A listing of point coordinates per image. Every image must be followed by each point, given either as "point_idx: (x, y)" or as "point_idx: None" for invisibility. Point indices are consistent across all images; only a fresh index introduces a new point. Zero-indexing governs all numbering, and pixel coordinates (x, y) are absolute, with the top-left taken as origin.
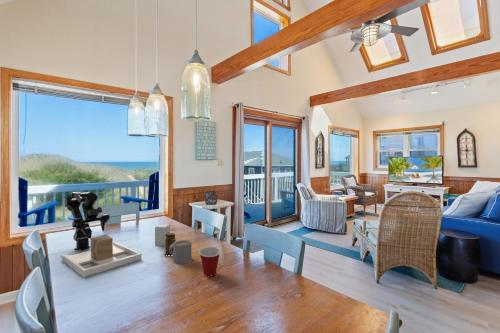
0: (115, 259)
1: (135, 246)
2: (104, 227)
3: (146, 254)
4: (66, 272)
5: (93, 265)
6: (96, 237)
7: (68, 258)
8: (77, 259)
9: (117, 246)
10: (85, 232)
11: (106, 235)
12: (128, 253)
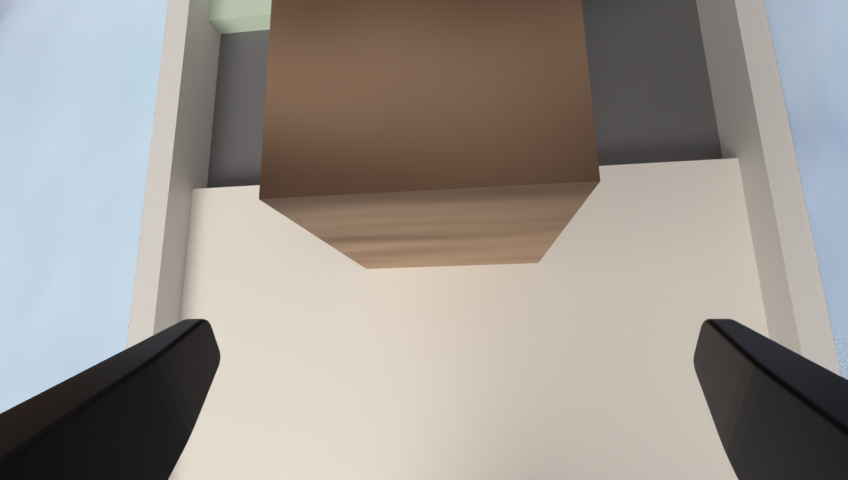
0: None
1: (21, 341)
2: (78, 376)
3: (116, 27)
4: (806, 102)
5: None
6: (481, 142)
7: (815, 309)
8: (679, 314)
9: None
10: (776, 347)
11: (269, 144)
12: (207, 122)
